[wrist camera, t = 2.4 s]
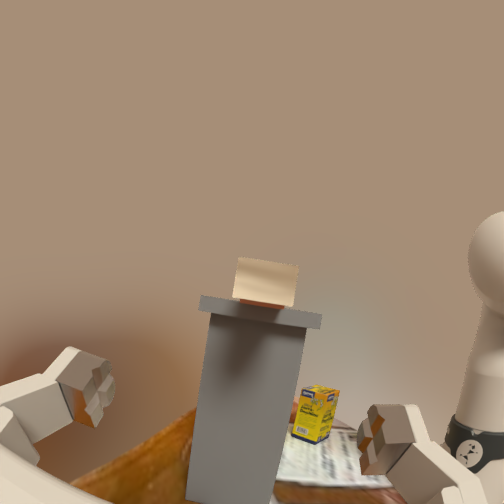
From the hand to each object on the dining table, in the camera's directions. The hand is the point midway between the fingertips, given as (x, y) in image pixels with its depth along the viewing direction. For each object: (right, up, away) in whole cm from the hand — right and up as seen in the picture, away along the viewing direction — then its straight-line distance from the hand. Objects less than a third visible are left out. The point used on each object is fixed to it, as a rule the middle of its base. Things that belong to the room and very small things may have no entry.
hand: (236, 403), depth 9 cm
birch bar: (+2, -1, +25) cm, 25 cm away
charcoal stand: (-2, -28, +27) cm, 38 cm away
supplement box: (+12, -33, +47) cm, 59 cm away
